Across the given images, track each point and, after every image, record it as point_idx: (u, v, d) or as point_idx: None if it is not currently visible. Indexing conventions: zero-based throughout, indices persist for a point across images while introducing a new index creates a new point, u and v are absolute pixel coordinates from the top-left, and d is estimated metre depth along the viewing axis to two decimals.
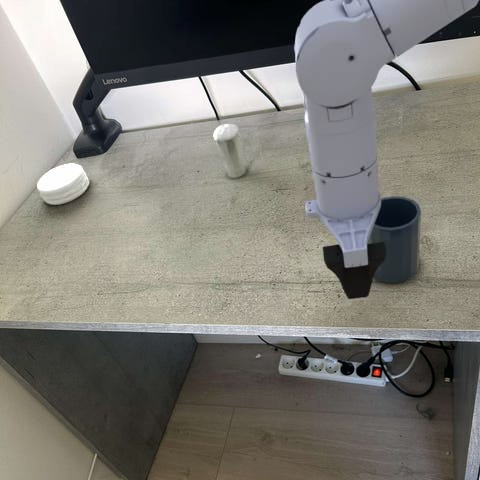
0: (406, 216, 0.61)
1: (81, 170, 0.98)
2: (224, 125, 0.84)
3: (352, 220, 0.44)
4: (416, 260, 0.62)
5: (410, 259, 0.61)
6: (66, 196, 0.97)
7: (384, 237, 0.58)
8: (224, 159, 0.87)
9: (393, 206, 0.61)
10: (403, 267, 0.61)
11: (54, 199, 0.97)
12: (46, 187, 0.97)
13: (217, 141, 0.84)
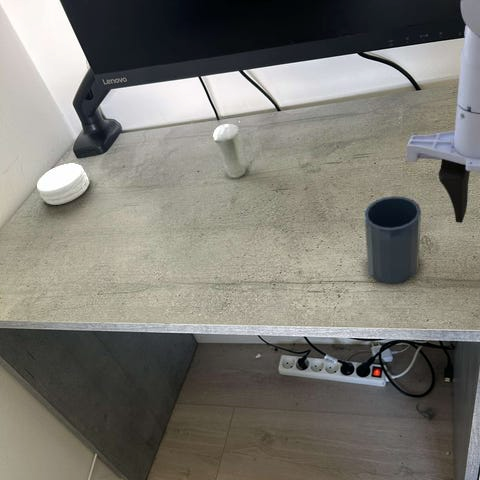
0: (406, 216, 0.61)
1: (81, 170, 0.98)
2: (224, 125, 0.84)
3: None
4: (416, 260, 0.62)
5: (410, 259, 0.61)
6: (66, 196, 0.97)
7: (384, 237, 0.58)
8: (224, 159, 0.87)
9: (393, 206, 0.61)
10: (403, 267, 0.61)
11: (54, 199, 0.97)
12: (46, 187, 0.97)
13: (217, 141, 0.84)
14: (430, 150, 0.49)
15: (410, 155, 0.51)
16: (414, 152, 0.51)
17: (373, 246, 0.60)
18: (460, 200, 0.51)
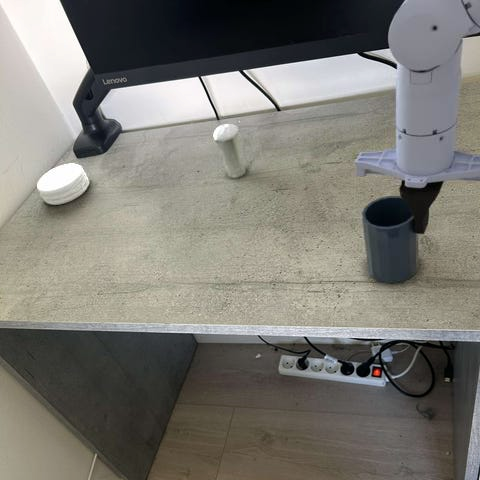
0: (404, 216, 0.61)
1: (81, 170, 0.98)
2: (224, 125, 0.84)
3: (455, 161, 0.50)
4: (415, 259, 0.62)
5: (409, 257, 0.60)
6: (66, 196, 0.97)
7: (381, 236, 0.58)
8: (224, 159, 0.87)
9: (391, 206, 0.61)
10: (402, 266, 0.61)
11: (54, 199, 0.97)
12: (46, 187, 0.97)
13: (217, 141, 0.84)
14: (375, 166, 0.53)
15: (358, 170, 0.55)
16: (362, 168, 0.55)
17: (371, 246, 0.60)
18: (420, 213, 0.55)
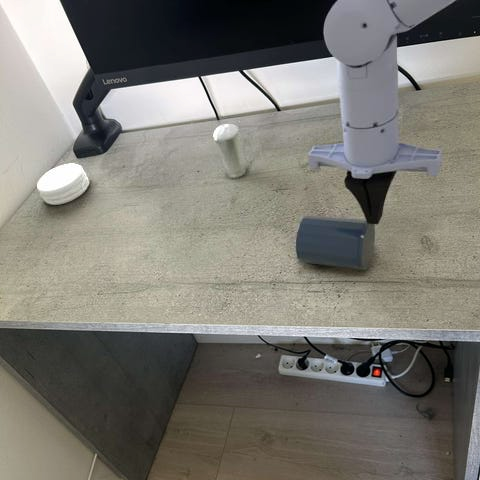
0: None
1: (81, 170, 0.98)
2: (224, 125, 0.84)
3: (400, 153, 0.53)
4: (348, 228, 0.63)
5: (336, 236, 0.63)
6: (66, 196, 0.97)
7: (305, 255, 0.66)
8: (224, 159, 0.87)
9: None
10: (341, 245, 0.63)
11: (54, 199, 0.97)
12: (46, 187, 0.97)
13: (217, 141, 0.84)
14: (326, 159, 0.56)
15: (311, 163, 0.58)
16: (314, 161, 0.57)
17: (321, 263, 0.67)
18: (366, 204, 0.57)
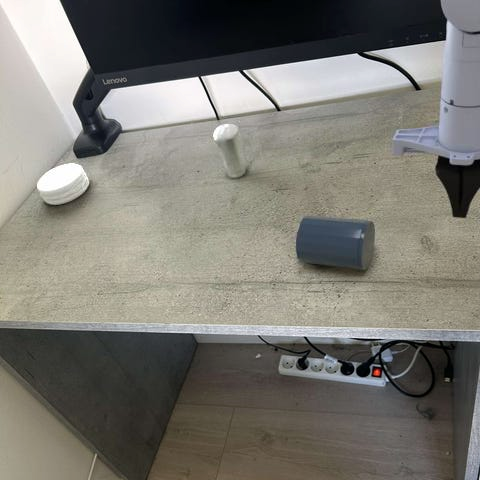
0: None
1: (81, 170, 0.98)
2: (224, 125, 0.84)
3: None
4: (348, 228, 0.63)
5: (336, 236, 0.63)
6: (66, 196, 0.97)
7: (305, 255, 0.66)
8: (224, 159, 0.87)
9: None
10: (341, 245, 0.63)
11: (54, 199, 0.97)
12: (46, 187, 0.97)
13: (217, 141, 0.84)
14: (415, 144, 0.49)
15: (396, 149, 0.51)
16: (400, 146, 0.51)
17: (321, 263, 0.67)
18: (457, 195, 0.51)
